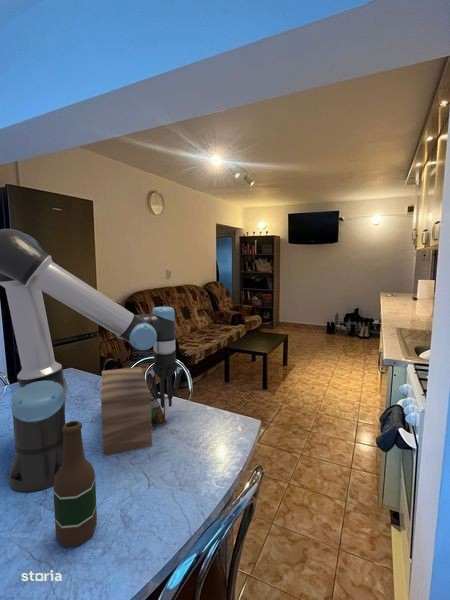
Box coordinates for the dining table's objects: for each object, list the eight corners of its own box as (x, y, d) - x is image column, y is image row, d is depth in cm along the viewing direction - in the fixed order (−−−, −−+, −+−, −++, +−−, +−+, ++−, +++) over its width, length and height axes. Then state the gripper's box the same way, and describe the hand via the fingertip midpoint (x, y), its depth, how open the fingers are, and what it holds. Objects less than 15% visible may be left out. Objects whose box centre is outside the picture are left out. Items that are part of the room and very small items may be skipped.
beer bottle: (99, 538, 64) (95, 427, 61) (56, 556, 60) (49, 438, 57) (94, 512, 70) (90, 411, 68) (55, 526, 67) (49, 420, 64)
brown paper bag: (151, 446, 96) (150, 395, 94) (103, 456, 91) (101, 402, 89) (141, 407, 122) (140, 366, 120) (103, 413, 117) (101, 370, 115)
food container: (145, 415, 116) (135, 393, 113) (160, 407, 118) (151, 385, 115) (150, 433, 105) (139, 410, 102) (167, 424, 106) (157, 401, 103)
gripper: (180, 346, 114) (181, 407, 117) (144, 350, 110) (146, 414, 112) (185, 352, 107) (186, 417, 110) (147, 356, 103) (149, 423, 105)
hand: (166, 415), depth 111 cm, fingers closed
